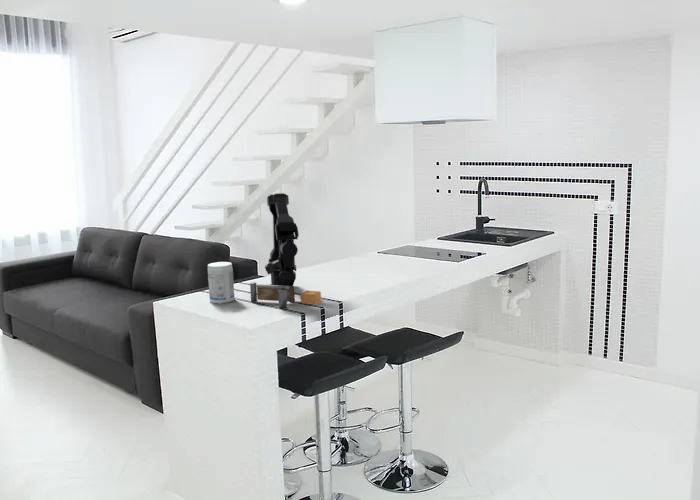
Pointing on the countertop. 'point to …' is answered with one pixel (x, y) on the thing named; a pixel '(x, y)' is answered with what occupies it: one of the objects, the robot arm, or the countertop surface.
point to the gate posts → (281, 293)
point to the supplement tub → (221, 282)
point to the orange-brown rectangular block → (311, 297)
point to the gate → (274, 292)
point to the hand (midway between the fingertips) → (289, 293)
